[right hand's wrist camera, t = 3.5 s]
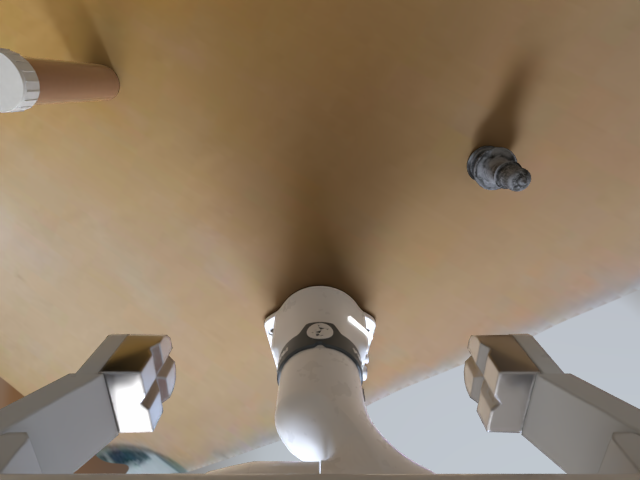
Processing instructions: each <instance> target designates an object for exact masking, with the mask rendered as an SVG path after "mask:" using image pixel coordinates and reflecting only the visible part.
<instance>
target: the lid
mask: <svg viewBox="0 0 640 480" xmlns="http://www.w3.org/2000/svg"><path fill="white" fill-rule="evenodd" d="M39 92H40V85H39V80H38V77H37V74H36V72H35V70H34V69H33V67H32V66H31V65H30V63H29V62H28V61H27V60H26V59H25V58H23V57H22V56H21V55H20V54H18V53H15V52H13V51H10V49H3V48H0V112H1V113H6V112H20V111H24V110H26V109H29V108H32V106H33V105H34V104H35V103H36V101H37V99H38V97H39Z"/></svg>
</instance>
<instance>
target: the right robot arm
mask: <svg viewBox="0 0 640 480" xmlns="http://www.w3.org/2000/svg"><path fill="white" fill-rule="evenodd" d="M264 326H265V330H266V333H267V337H268V340H269V343H270V347H271V351H272V354H273V357H274V360H275V364H276V367H277V382H278V386H279V387H278V395H277V402H276V410H275V425H276V429H277V432H278V434H279V436H280V438H281V439H282V441H283V443H284V444H285V445H286V447H287V448H288V449H289V450H290V452H291V453H292V454H294V455H295V456H296V457H298V458H299V459H301V460H302V461H253V462H248V463H243V464H238V465H233V466H229V467H225V468H221V469H217V470H213V471H209V472H207V473H206V474H73V473H74V472H75V471H77V470H78V469H79V468H80V467H81V466H82V465H84V464H85V463H86V462H87V461H88V460H89V459H91V458H92V457H93V456H94V455H95V454H96V453H98V452H99V451H100V450H101V449H102V448H104V447H105V446H106V445H107V444H108V443H109V442H111V441H112V440H113V439H114V438H115V437H116V436H118V433H132V432H153V431H154V429H155V427H156V425H157V423H158V421H159V419H160V416H161V414H162V412H163V407H162V403H163V402H164V401H166V400H167V399H168V398H170V396H171V394H172V391H173V389H174V385H175V380H176V366H175V361H174V360H173V359H172V358H171V357H170V356H169V353H170V352H171V350H172V343H171V339H170V337H169V336H168V335H150V334H131V335H130V334H112V335H109V336H107V338H106V339H105V340H104V341H103V342H102V343H101V345H100V346H99V347H98V348H97V349H96V350H95V352H94V353H93V354H92V355H91V356H90V357H89V359H88V360H87V361H86V362H85V363H84V364H83V365H82V367H81V368H80V369H79V370H78V371H77V372H76V374H68V375H66V376H64V377H62V378H60V379H58V380H56V381H54V382H52V383H50V384H48V385H46V386H45V387H43V388H41V389H39V390H37V391H35V392H33V393H31V394H29V395H27V396H25V397H23V398H21V399H19V400H17V401H15V402H13V403H11V404H10V405H8V406H6V407H4V408H2V409H0V480H640V409H638V408H636V407H634V406H632V405H630V404H628V403H626V402H624V401H623V400H621V399H619V398H617V397H615V396H613V395H611V394H609V393H607V392H605V391H603V390H601V389H599V388H597V387H595V386H593V385H592V384H590V383H588V382H586V381H584V380H582V379H580V378H578V377H576V376H574V375H572V374H564V372H563V371H562V370H561V369H560V368H559V367H558V366H557V364H556V363H555V362H554V361H553V360H552V359H551V357H550V356H549V355H548V354H547V353H546V352H545V350H544V349H543V348H542V347H541V346H540V345H539V343H538V342H537V341H536V340H535V339H534V338H533V336H531V335H529V334H509V335H471V337H470V339H469V343H468V350H469V352H470V353H471V356H470V357H469V358H468V359H467V360H466V361H465V367H464V379H465V385H466V389H467V391H468V394H469V396H470V398H472V399H473V400H474V401H476V402H477V403H478V407H477V412H478V414H479V416H480V418H481V421H482V423H483V425H484V427H485V429H486V431H487V432H509V433H522V435H523V436H524V437H525V438H526V439H527V440H528V441H530V442H531V443H532V444H533V445H534V446H536V447H537V448H538V449H539V450H540V451H541V452H542V453H544V454H545V455H546V456H547V457H548V458H550V459H551V460H552V461H553V462H554V463H555V464H557V465H558V466H559V467H560V468H561V469H562V470H564V471H565V472H566V473H567V474H435V473H434V472H433V471H431V470H429V469H427V468H425V467H423V466H421V465H419V464H418V463H416V462H414V461H413V460H411V459H409V458H408V457H407V456H405V455H404V454H402V453H401V452H400V451H399V450H397V449H396V448H395V447H394V446H393V445H392V444H391V443H390V442H389V441H388V440H386V439H385V437H384V436H383V435H382V434H381V433H380V432H379V431H378V429H377V428H376V427H375V425H374V424H373V422H372V421H371V419H370V417H369V415H368V412H367V409H366V405H365V396H364V389H363V388H362V387H361V386H362V382H363V380H366V377H367V367H366V366H364V364H365V363H368V361H369V355H367V354H368V351H369V347H370V343H371V340H372V339H373V333H374V330H375V326H376V324H375V319H374V318H373V317H372V316H370V315H369V314H367V313H365V312H363V311H362V310H361V309H360V308H359V306H358V305H357V304H356V302H355V301H354V300H353V299H352V298H351V297H350V296H349V295H347V294H346V293H344V292H343V291H341V290H338V289H336V288H332V287H327V286H313V287H308V288H304V289H302V290H299V291H297V292H296V293H294V294H293V295H291V296H290V297H289V298H288V299H287V300H286V301H285V302H284V304H283V305H282V306H281V308H280V309H279V310H278V311H277V312H275V313H273V314H271V315H270V316H268V317H267V318H266V319H265V324H264ZM271 329H273V330H271ZM367 329H369V330H367ZM319 471H320V472H321V474H319Z"/></svg>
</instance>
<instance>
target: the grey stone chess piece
mask: <svg viewBox="0 0 640 480" xmlns="http://www.w3.org/2000/svg"><path fill="white" fill-rule="evenodd" d="M467 170H468V173H469V175H470V177H471V178H472V179H474V180H475V181H476V182H477V183H478V184H479V185H480V186H481V187H483V188H484V189H488V190H497V189H500V188H503V189H510V190H512V191H522V190H524V189H525V188H526V187H528V185H529V184H530V182H531V175H530V173H529V172H528V170H526V169H524V168H522V167H521V165H520V164H519V163H517V159H516V157H515V155H514V154H513V153H512V151H510V150H508V149H506V148H502V147H493V146H483V147H480V148H478V149H477V150H475V151H474V152H473V153H472V154H471V156H470V157H469V160H468V163H467Z"/></svg>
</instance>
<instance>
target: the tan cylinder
mask: <svg viewBox="0 0 640 480" xmlns="http://www.w3.org/2000/svg"><path fill="white" fill-rule="evenodd" d="M22 57H23V58H25V59H26V60H27V61H28V62H29V63H30V65H31V66H32V67H33V69H34V70H35V72H36V74H37V77H38V80H39V85H40V92H39V97H38V99H37V101H36V103H35V104H34V105H42V104H58V103H73V102H88V101H104V100H111V99H113V98H114V97H115V96H116V95H117V94H118V91H119V80H118V77H117V75H116V74H115V72H114V71H113V70H112V69H111V68H109V67H108V66H106V65H102V64H94V63H84V62H74V61H64V60H54V59H44V58H34V57H25V56H22Z"/></svg>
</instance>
